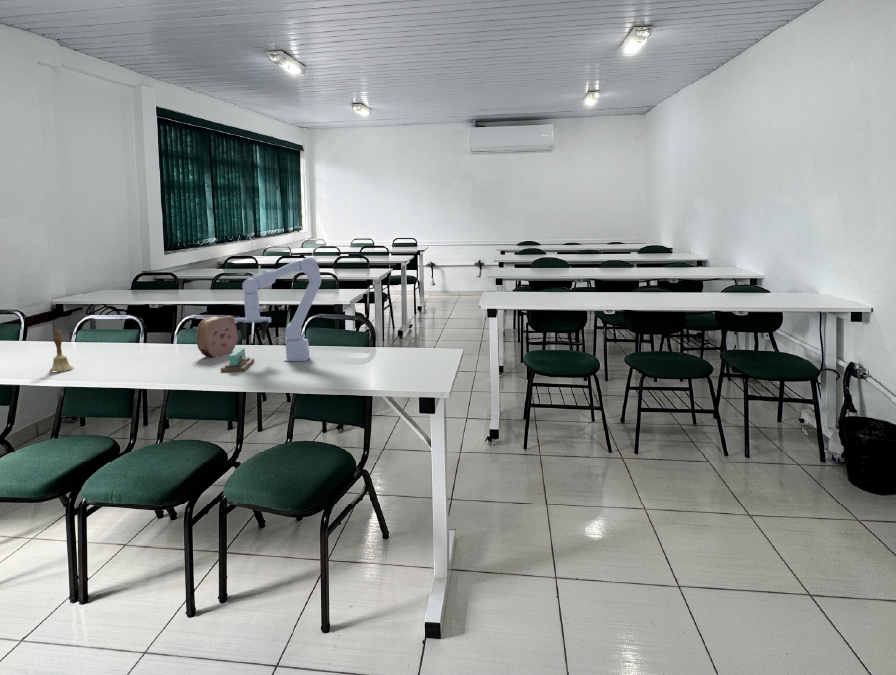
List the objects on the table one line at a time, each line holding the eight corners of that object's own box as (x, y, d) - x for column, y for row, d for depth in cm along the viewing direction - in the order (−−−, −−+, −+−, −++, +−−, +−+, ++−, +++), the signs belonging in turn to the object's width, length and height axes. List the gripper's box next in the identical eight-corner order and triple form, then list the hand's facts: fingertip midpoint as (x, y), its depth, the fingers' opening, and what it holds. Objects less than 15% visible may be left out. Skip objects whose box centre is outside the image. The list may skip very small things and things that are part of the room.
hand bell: (51, 369, 241) (46, 330, 238) (75, 366, 244) (70, 328, 241) (47, 373, 234) (41, 333, 231) (71, 371, 237) (66, 332, 234)
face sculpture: (209, 359, 255) (206, 321, 252) (196, 358, 257) (193, 320, 254) (240, 350, 273) (237, 314, 270) (227, 349, 276) (224, 313, 272)
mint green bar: (239, 357, 248) (238, 348, 248) (245, 357, 249) (244, 347, 248) (229, 365, 235) (228, 355, 234) (235, 365, 235) (235, 355, 234)
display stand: (232, 362, 249) (231, 354, 249) (254, 361, 250) (253, 353, 249) (220, 372, 234) (220, 363, 233) (244, 371, 234) (243, 362, 234)
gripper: (231, 309, 242) (234, 341, 245) (267, 308, 243) (269, 341, 246) (236, 306, 249) (238, 338, 252) (271, 306, 250) (273, 337, 253)
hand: (254, 339), depth 249 cm, fingers open, 7 cm apart
